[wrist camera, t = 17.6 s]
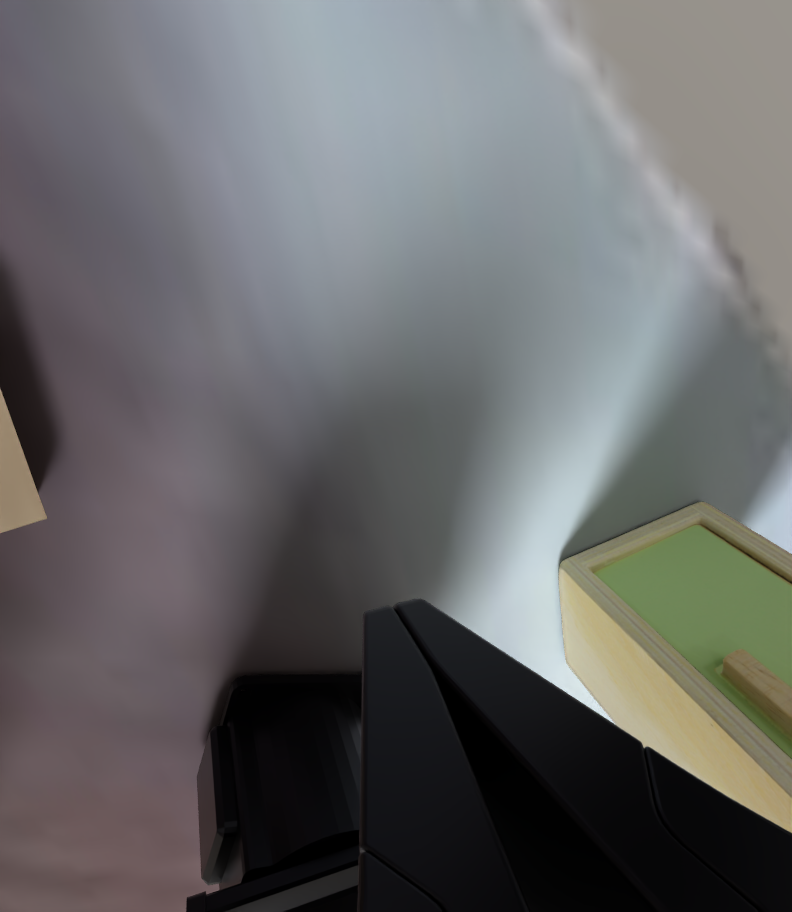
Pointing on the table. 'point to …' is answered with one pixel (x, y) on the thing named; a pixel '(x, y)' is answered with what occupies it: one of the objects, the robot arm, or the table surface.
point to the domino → (15, 479)
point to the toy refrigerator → (691, 648)
